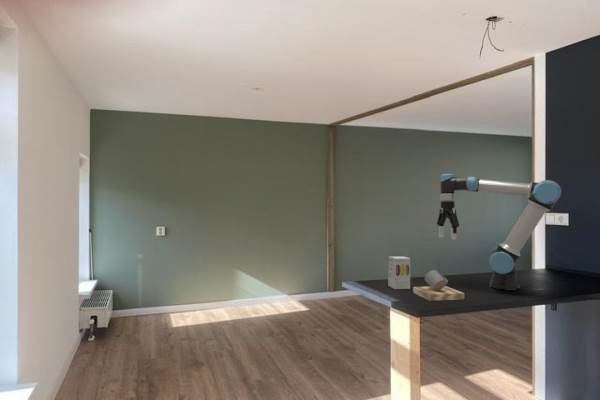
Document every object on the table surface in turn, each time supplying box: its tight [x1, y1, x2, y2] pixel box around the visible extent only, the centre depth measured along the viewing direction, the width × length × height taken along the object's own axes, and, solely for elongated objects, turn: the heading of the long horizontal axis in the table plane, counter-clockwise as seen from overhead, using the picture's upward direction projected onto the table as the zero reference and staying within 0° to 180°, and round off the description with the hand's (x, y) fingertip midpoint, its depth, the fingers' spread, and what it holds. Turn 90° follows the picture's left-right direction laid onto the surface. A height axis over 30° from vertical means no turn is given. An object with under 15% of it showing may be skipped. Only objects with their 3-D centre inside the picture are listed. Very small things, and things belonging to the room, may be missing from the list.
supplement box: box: [387, 255, 411, 290], centre depth 229 cm, size 10×9×17 cm
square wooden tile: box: [412, 285, 465, 302], centre depth 208 cm, size 18×18×3 cm
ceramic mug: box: [424, 269, 448, 291], centre depth 208 cm, size 11×8×8 cm
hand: (447, 238), depth 236 cm, fingers open, 13 cm apart
